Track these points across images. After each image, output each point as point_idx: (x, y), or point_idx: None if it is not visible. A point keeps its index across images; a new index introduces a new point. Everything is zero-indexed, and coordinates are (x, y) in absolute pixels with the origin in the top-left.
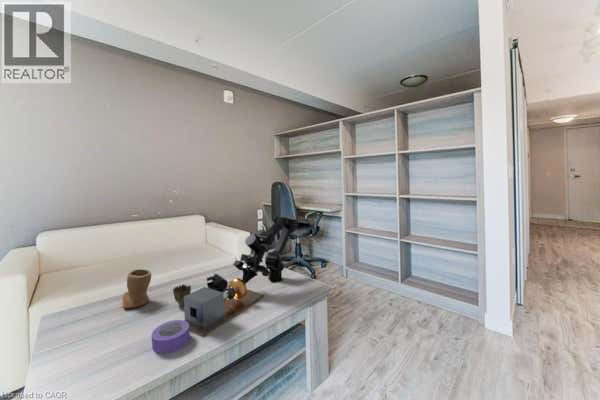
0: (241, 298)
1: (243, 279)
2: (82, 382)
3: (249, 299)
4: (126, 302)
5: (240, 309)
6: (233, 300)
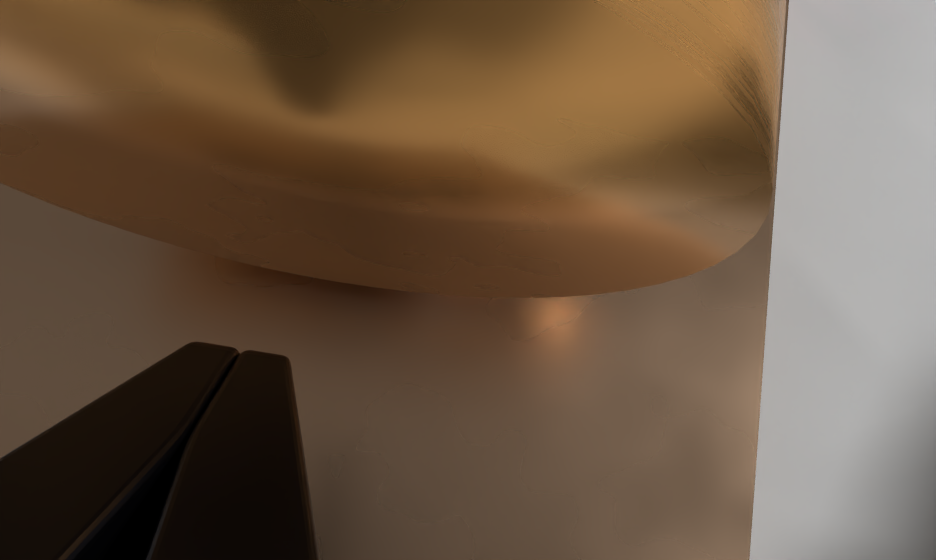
0: (315, 345)
1: (196, 492)
2: None
3: (51, 375)
4: None
5: None
6: None
